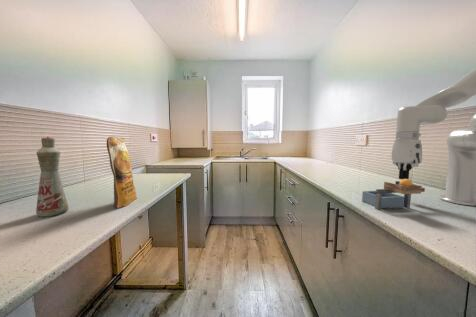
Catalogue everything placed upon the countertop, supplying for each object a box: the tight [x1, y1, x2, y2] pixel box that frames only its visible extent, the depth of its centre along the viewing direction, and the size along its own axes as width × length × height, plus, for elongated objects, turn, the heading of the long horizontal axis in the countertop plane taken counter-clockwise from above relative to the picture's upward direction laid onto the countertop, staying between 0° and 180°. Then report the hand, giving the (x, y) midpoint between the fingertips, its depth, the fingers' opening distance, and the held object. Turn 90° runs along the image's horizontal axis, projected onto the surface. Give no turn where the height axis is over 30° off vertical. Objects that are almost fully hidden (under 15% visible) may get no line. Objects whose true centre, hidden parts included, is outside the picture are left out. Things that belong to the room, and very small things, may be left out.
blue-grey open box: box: [361, 190, 404, 210], centre depth 83 cm, size 10×10×4 cm
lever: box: [375, 180, 426, 195], centre depth 80 cm, size 18×22×4 cm
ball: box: [399, 179, 414, 186], centre depth 73 cm, size 4×4×4 cm
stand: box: [374, 194, 412, 211], centre depth 78 cm, size 2×14×6 cm, turn 97°
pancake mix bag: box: [106, 136, 138, 209], centre depth 85 cm, size 7×19×28 cm, turn 5°
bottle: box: [35, 136, 70, 218], centre depth 72 cm, size 9×9×28 cm
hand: (403, 179), depth 87 cm, fingers closed
